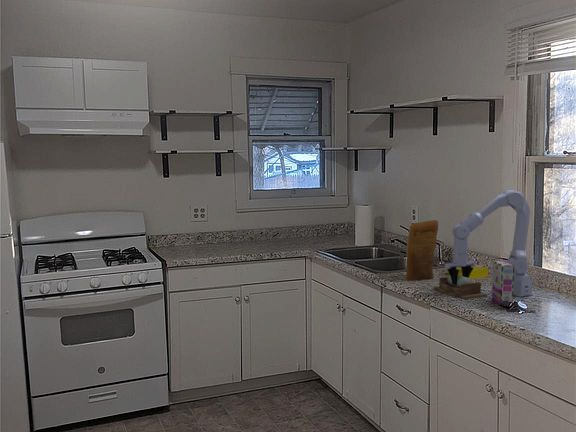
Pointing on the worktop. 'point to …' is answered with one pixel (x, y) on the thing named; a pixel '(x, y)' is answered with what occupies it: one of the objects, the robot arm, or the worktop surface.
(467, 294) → the roll cradle
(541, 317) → the worktop surface
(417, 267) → the pancake mix bag
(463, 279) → the paper roll
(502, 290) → the candy bar box
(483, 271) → the element tile
